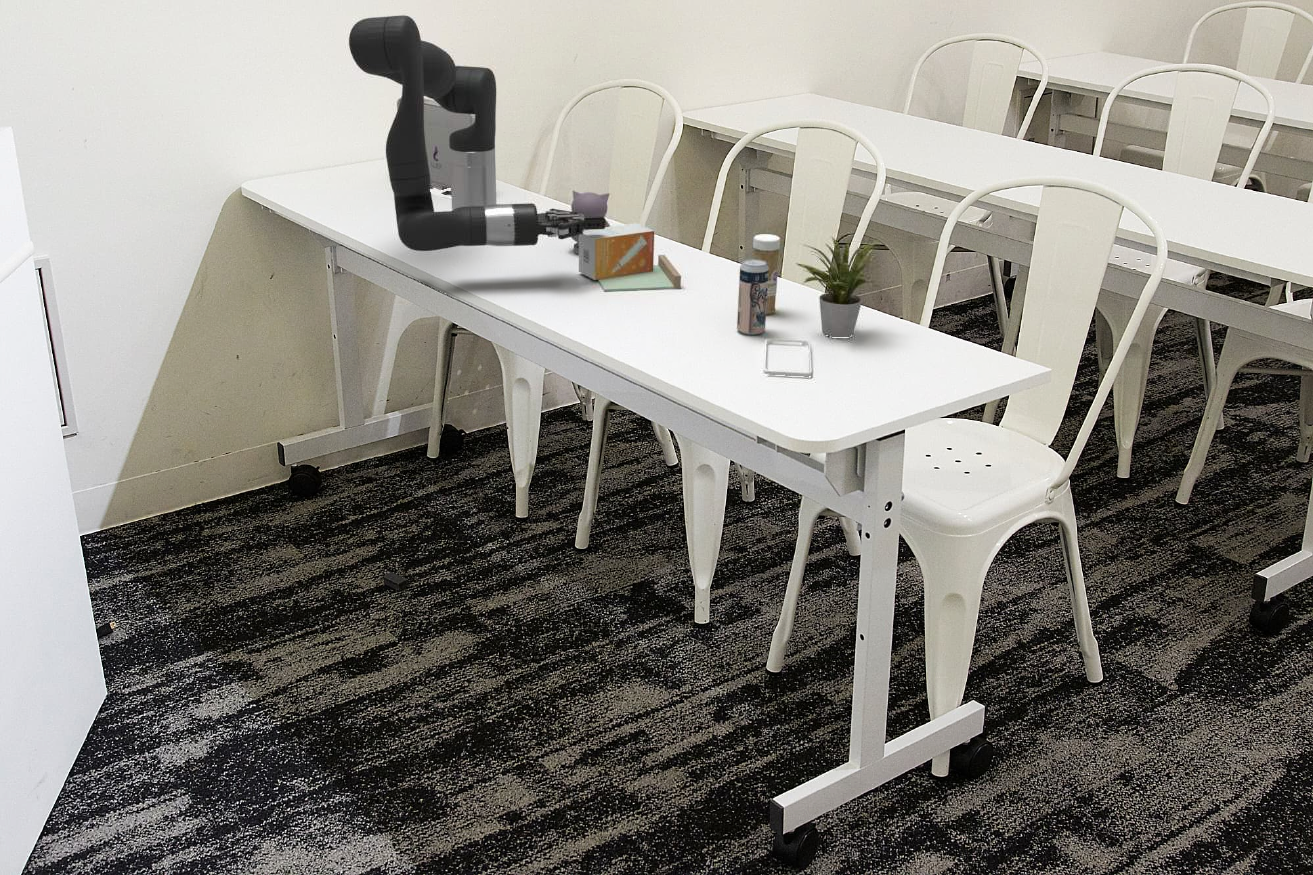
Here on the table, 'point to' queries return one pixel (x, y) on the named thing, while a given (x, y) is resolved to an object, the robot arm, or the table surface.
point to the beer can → (752, 296)
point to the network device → (441, 139)
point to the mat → (646, 279)
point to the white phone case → (788, 373)
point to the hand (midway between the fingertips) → (604, 222)
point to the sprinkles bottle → (768, 264)
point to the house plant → (840, 290)
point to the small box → (616, 251)
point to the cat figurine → (589, 208)
